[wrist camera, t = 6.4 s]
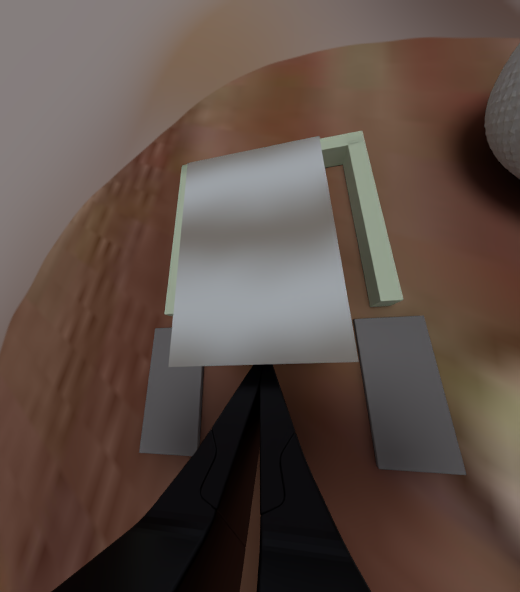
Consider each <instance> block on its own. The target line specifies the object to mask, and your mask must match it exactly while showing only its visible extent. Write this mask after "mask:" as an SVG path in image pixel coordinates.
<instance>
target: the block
mask: <svg viewBox="0 0 520 592" xmlns="http://www.w3.org/2000/svg"><path fill="white" fill-rule="evenodd" d="M333 362H359V361H358V355H357V350H356V344H355V338H354V332H353V327H352V321H351V315H350V309H349V304H348V298H347V292H346V287H345V281H344V275H343V269H342V264H341V258H340V252H339V246H338V241H337V235H336V229H335V224H334V218H333V212H332V206H331V201H330V195H329V189H328V183H327V178H326V172H325V166H324V160H323V155H322V149H321V143H320V138H319V136H317V137H312V138H307V139H303V140H298V141H293V142H288V143H283V144H278V145H273V146H269V147H264V148H259V149H254V150H249V151H244V152H240V153H235V154H230V155H225V156H220V157H215V158H211V159H206V160H201V161H196V162H191V163H188V164H187V174H186V185H185V196H184V206H183V217H182V228H181V238H180V249H179V260H178V270H177V281H176V292H175V302H174V313H173V324H172V334H171V345H170V356H169V366H168V367H186V366H223V365H260V364H296V363H333Z"/></svg>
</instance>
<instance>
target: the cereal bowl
mask: <svg viewBox="0 0 520 592" xmlns="http://www.w3.org/2000/svg"><path fill="white" fill-rule="evenodd" d="M485 112H486V115H485V125H484V127H485V129H486V133H485V135H486V136H487V141H488V144H489V146H490V149H491V150H492V151H493V154H494V155H495V157H496V158H497V159H498V161H499V162H500V163H501V164H502V165H503V166H504V168H506V169H508V170H509V172H511V173H512V174H513V175H515V176H516V177H517V178H518V179H520V43H519V45H518V46H517V47H516V49H515V50H514V52H513V53H512V55H511V56H510V58H509V60H508V61H507V63H506V64H505V66H504V68H503V69H502V71H501V74H500V75H499V77H498V79H497V81H496V82H495V85H494V87H493V89H492V91H491V94H490V97H489V99H488V102H487V108H486V111H485Z"/></svg>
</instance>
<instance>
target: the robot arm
mask: <svg viewBox="0 0 520 592" xmlns="http://www.w3.org/2000/svg"><path fill="white" fill-rule="evenodd" d="M259 448H260V514H261V517H260V554H259V567H258V581H257V592H371V590H370V589H369V587H368V585H367V583H366V582H365V580H364V578H363V576H362V575H361V573H360V571H359V569H358V568H357V566H356V564H355V562H354V560H353V559H352V557H351V555H350V553H349V551H348V549H347V547H346V545H345V543H344V541H343V539H342V537H341V535H340V533H339V531H338V529H337V527H336V525H335V523H334V521H333V519H332V516H331V514H330V512H329V510H328V508H327V506H326V504H325V501H324V499H323V497H322V495H321V493H320V491H319V489H318V486H317V484H316V482H315V480H314V478H313V476H312V473H311V471H310V469H309V466H308V464H307V462H306V459H305V457H304V454H303V451H302V449H301V446H300V443H299V440H298V437H297V434H296V433H295V429H294V426H293V423H292V420H291V417H290V414H289V411H288V408H287V406H286V403H285V400H284V397H283V394H282V391H281V388H280V385H279V382H278V379H277V376H276V373H275V370H274V367H273V365H272V364H260V365H253V366H252V368H251V369H250V371H249V372H248V374H247V375H246V377H245V378H244V380H243V381H242V383H241V384H240V386H239V387H238V389H237V390H236V392H235V393H234V395H233V396H232V398H231V399H230V401H229V403H228V404H227V406H226V407H225V409H224V410H223V412H222V413H221V415H220V416H219V418H218V419H217V421H216V422H215V424H214V425H213V427H212V430H210V431H209V433H208V434H207V436H206V437H205V439H204V440H203V442H202V443H201V445H200V446H199V447H198V449H197V450H196V452H195V453H194V454H193V456H192V457H191V458H190V460H189V461H188V462H187V464H186V465H185V466H184V468H183V469H182V470H181V471H180V473H179V474H178V475H177V476H176V478H175V479H174V480H173V481H172V483H171V484H170V485H169V486H168V488H167V489H166V490H165V492H164V493H163V494H162V495H161V497H160V498H159V499H158V500H157V502H156V503H155V504H154V505H153V507H152V508H151V509H150V510H149V511H148V512H147V513H146V515H145V516H144V517H143V518H142V519H141V520H140V521H139V522H138V523H137V524H135V525H134V526H133V527H132V528H131V529H130V530H128V531H127V532H126V533H125V534H123V535H122V536H121V537H120V538H118V539H117V540H116V541H115V542H113V543H112V544H111V545H110V546H108V547H107V548H106V549H105V550H103V551H102V552H101V553H100V554H98V555H97V556H96V557H95V558H93V559H92V560H91V561H90V562H88V563H87V564H86V565H84V566H83V567H82V568H81V569H79V570H78V571H77V572H76V573H74V574H73V575H72V576H71V577H69V578H68V579H67V580H66V581H64V582H63V583H62V584H61V585H59V586H58V587H57V588H56V589H54V590H53V591H51V592H240V585H241V578H242V570H243V563H244V556H245V547H246V541H247V534H248V527H249V520H250V513H251V505H252V498H253V491H254V484H255V477H256V469H257V462H258V455H259Z"/></svg>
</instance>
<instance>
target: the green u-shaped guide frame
mask: <svg viewBox="0 0 520 592" xmlns="http://www.w3.org/2000/svg"><path fill="white" fill-rule="evenodd" d="M320 143H321V149H322V155H323V160H324V166H325V168H326V167H332V166H337V165H343V168H344V173H345V178H346V183H347V188H348V194H349V199H350V204H351V209H352V215H353V220H354V225H355V230H356V235H357V241H358V246H359V251H360V256H361V261H362V267H363V272H364V277H365V282H366V288H367V293H368V298H369V303H370V307H379V306H391V305H393V304H395V303H397V302H400V301H402V300H403V296H402V292H401V288H400V284H399V280H398V276H397V271H396V267H395V263H394V259H393V255H392V251H391V247H390V243H389V239H388V235H387V231H386V226H385V222H384V218H383V214H382V210H381V206H380V202H379V198H378V194H377V190H376V186H375V181H374V177H373V173H372V169H371V165H370V161H369V157H368V153H367V149H366V145H365V141H364V137H363V132H362V131H358V132H353V133H348V134H343V135H338V136H332V137H327V138H322V139H320ZM186 174H187V165H183V166H182V171H181V179H180V188H179V196H178V205H177V213H176V222H175V230H174V238H173V247H172V255H171V264H170V272H169V281H168V289H167V297H166V306H165V314H166V315H169V316H173V313H174V302H175V292H176V281H177V270H178V260H179V249H180V238H181V228H182V217H183V206H184V196H185V185H186ZM353 323H354V329H355V335H356V341H357V347H358V353H359V360H360V366H361V372H362V378H363V384H364V390H365V397H366V403H367V409H368V415H369V421H370V427H371V433H372V440H373V446H374V452H375V458H376V464H377V467H378V468H379V469H386V470H401V471H415V472H430V473H444V474H459V475H466V471H465V468H464V464H463V460H462V456H461V453H460V449H459V445H458V442H457V438H456V434H455V430H454V427H453V423H452V419H451V416H450V412H449V408H448V404H447V401H446V397H445V393H444V390H443V386H442V382H441V378H440V375H439V371H438V367H437V364H436V360H435V356H434V352H433V349H432V345H431V341H430V338H429V334H428V330H427V326H426V323H425V319H424V316H409V317H388V318H367V319H354V320H353ZM171 334H172V328H156V329H155V335H154V343H153V350H152V358H151V366H150V373H149V381H148V389H147V396H146V404H145V412H144V420H143V427H142V435H141V443H140V450H139V453H153V454H168V455H182V456H193V454H194V453H195V452H196V450H197V449H198V447H199V445H200V427H201V409H202V391H203V373H204V366H186V367H168V366H169V356H170V345H171Z"/></svg>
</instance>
